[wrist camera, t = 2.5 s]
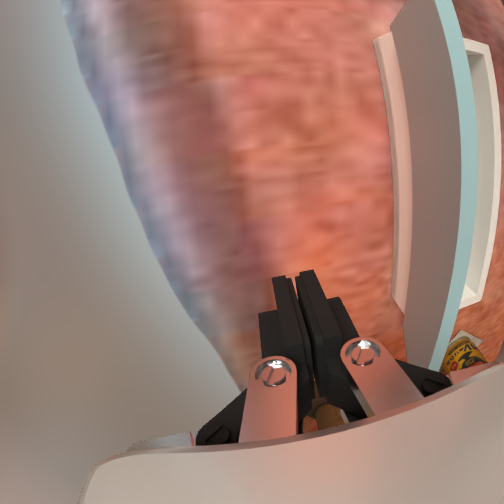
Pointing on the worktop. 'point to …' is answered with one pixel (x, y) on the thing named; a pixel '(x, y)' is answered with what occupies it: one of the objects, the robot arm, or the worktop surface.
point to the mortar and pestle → (325, 412)
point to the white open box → (403, 169)
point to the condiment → (462, 353)
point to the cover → (437, 172)
